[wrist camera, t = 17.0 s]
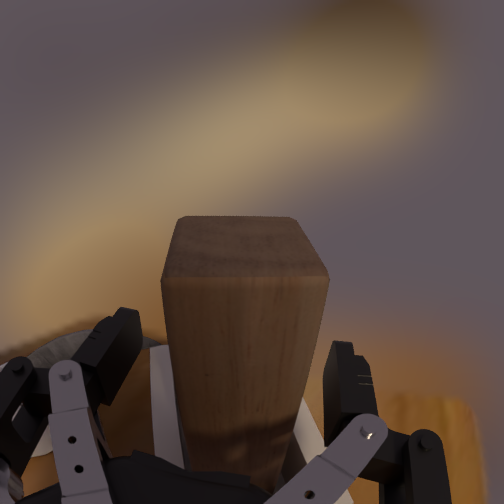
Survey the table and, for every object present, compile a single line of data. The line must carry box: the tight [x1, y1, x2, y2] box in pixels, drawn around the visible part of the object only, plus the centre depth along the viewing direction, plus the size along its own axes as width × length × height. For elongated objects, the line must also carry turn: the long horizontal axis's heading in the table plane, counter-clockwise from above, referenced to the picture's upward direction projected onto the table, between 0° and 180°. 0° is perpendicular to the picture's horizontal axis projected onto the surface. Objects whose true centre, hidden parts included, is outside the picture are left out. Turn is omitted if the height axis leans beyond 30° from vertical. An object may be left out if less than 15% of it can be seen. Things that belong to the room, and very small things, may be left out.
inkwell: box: [0, 329, 162, 457], centre depth 20 cm, size 9×18×10 cm, turn 110°
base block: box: [150, 345, 354, 504], centre depth 19 cm, size 10×14×8 cm, turn 14°
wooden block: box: [161, 216, 330, 495], centre depth 16 cm, size 9×4×18 cm, turn 6°
